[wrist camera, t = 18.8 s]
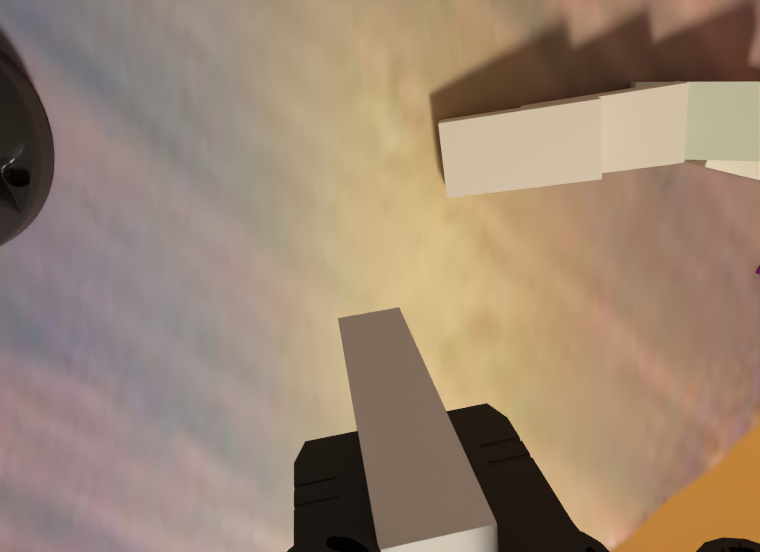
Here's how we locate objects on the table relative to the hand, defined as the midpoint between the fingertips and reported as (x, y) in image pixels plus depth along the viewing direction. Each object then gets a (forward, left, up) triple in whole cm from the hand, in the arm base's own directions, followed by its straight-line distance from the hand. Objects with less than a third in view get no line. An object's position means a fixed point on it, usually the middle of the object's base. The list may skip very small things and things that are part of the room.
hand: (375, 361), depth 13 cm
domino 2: (+4, +13, -24) cm, 27 cm away
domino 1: (+2, +8, -24) cm, 25 cm away
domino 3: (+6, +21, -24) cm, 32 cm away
